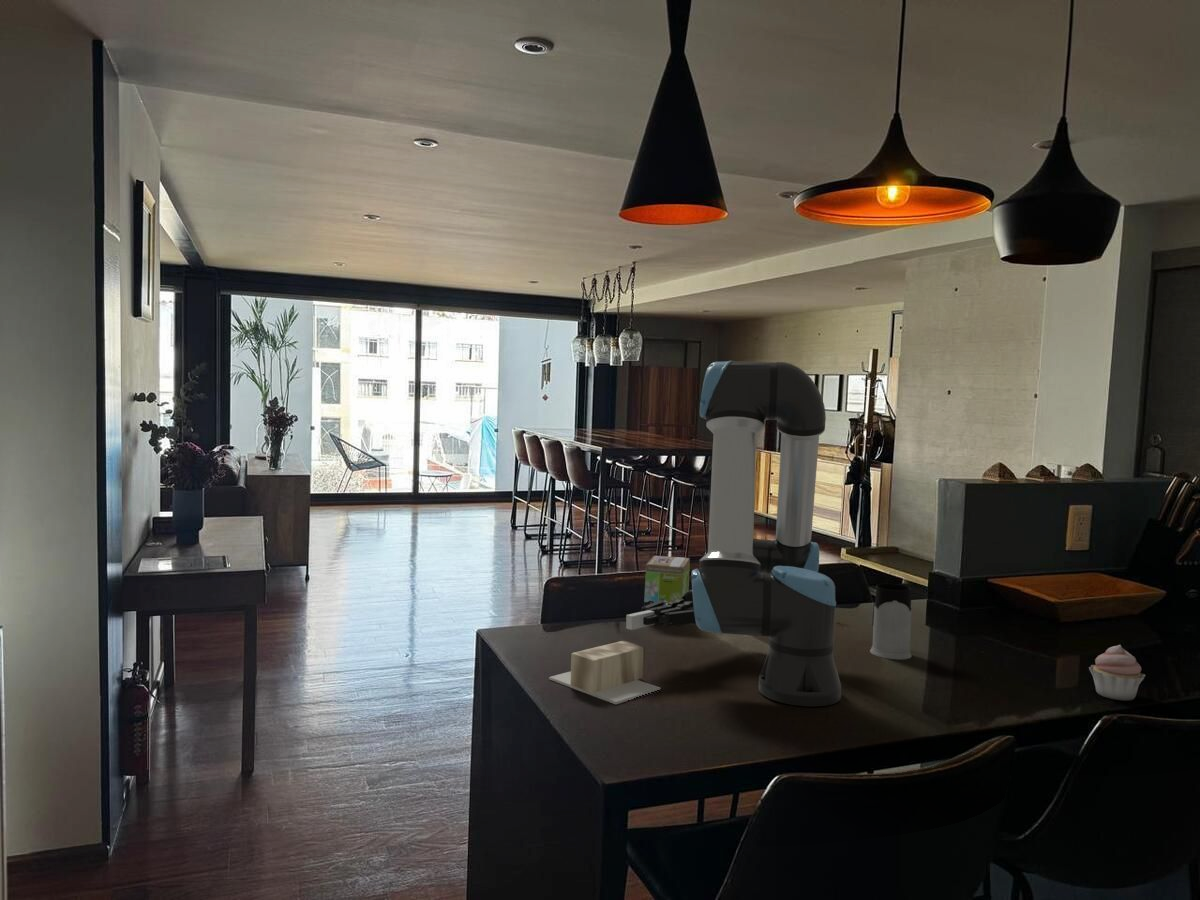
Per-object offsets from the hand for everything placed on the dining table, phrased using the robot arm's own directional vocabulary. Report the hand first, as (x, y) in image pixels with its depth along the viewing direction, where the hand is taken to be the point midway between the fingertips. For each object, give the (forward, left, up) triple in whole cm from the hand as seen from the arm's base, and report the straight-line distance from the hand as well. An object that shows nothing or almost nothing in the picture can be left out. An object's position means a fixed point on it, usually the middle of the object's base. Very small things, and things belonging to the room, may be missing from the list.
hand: (629, 622), depth 163 cm
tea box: (+28, -44, -11) cm, 53 cm away
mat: (0, +6, -11) cm, 13 cm away
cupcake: (-68, -66, -11) cm, 95 cm away
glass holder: (-24, -61, -11) cm, 66 cm away
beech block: (0, -2, -8) cm, 8 cm away
